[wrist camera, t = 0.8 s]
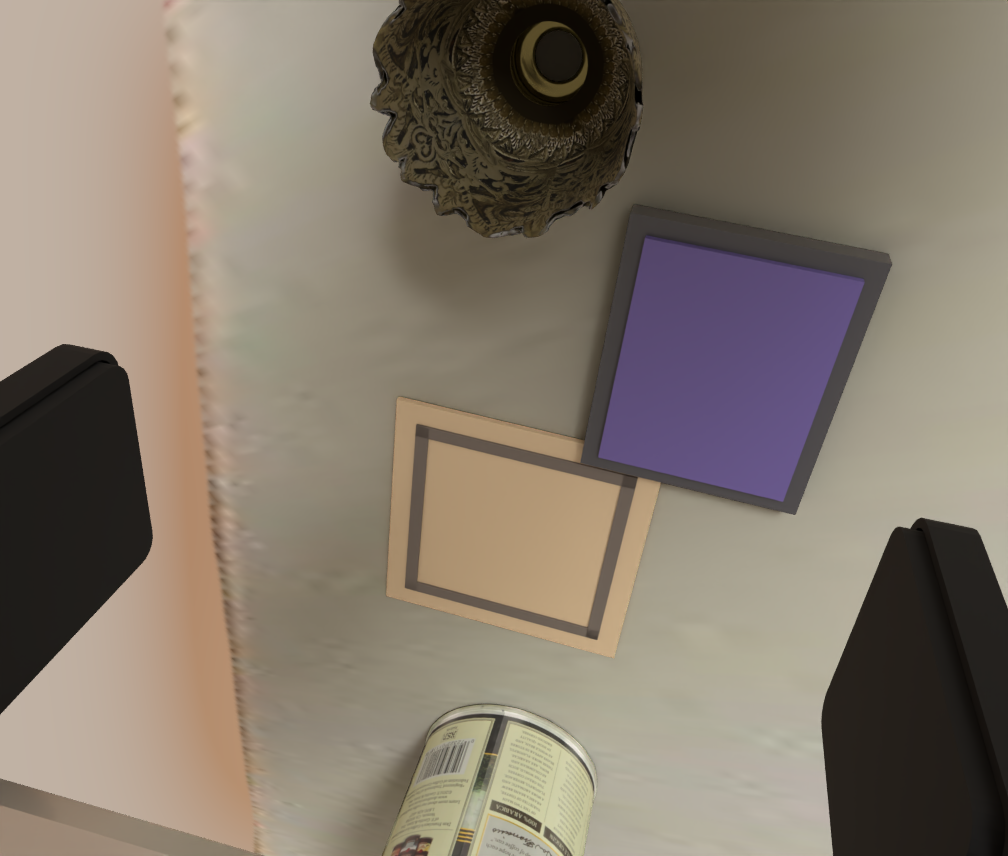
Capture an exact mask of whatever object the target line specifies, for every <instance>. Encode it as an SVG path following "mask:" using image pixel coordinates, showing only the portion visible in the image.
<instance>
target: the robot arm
mask: <svg viewBox="0 0 1008 856" xmlns="http://www.w3.org/2000/svg"><path fill="white" fill-rule="evenodd" d="M152 539H153V535H152V526H151V520H150V513H149V507H148V501H147V494H146V487H145V482H144V476H143V468H142V462H141V455H140V449H139V442H138V436H137V430H136V423H135V417H134V410H133V404H132V398H131V391H130V385H129V379H128V375H127V373H126V371H125V370H124V369H123V368H122V367H120V366H118V362H117V361H116V359H115V358H114V356H113V355H111V354H110V353H108V352H104V351H99V350H94V349H89V348H84V347H80V346H75V345H68V344H62V345H60V346H57V347H55V348H54V349H52V350H51V351H49V352H47V353H46V354H44V355H42V356H41V357H39V358H37V359H36V360H34V361H33V362H31V363H29V364H28V365H26V366H25V367H23V368H21V369H20V370H18V371H17V372H15V373H13V374H12V375H10V376H9V377H7V378H5V379H4V380H2V381H0V714H1V713H2V712H3V711H4V710H5V709H6V708H7V706H8V705H9V704H10V703H11V702H12V701H13V700H14V699H15V698H16V697H17V696H18V695H19V694H20V693H21V692H22V691H23V690H24V688H25V687H26V686H27V685H28V684H29V683H30V682H31V681H32V680H33V679H34V678H35V677H36V676H37V675H38V674H39V672H40V671H41V670H42V669H43V668H44V667H45V666H46V665H47V664H48V663H49V662H50V661H51V660H52V659H53V658H54V656H55V655H56V654H57V653H58V652H59V651H60V650H61V649H62V648H63V647H64V646H65V645H66V644H67V643H68V642H69V640H70V639H71V638H72V637H73V636H74V635H75V634H76V633H77V632H78V631H79V630H80V629H81V628H82V627H83V626H84V625H85V623H86V622H87V621H88V620H89V619H90V618H91V617H92V616H93V615H94V614H95V613H96V612H97V610H98V609H100V607H101V606H102V605H103V604H104V603H105V602H106V601H107V600H108V599H109V598H110V597H111V596H112V595H113V594H114V593H115V591H116V590H117V589H118V588H119V587H120V586H121V585H122V584H123V583H124V582H125V581H126V580H127V579H128V578H129V577H130V575H131V574H132V573H133V572H134V571H135V570H136V569H137V568H138V567H139V566H140V565H141V564H142V563H143V561H144V560H145V559H146V557H147V555H148V553H149V551H150V548H151V545H152ZM821 722H822V738H823V749H824V760H825V771H826V782H827V793H828V804H829V815H830V826H831V837H832V848H833V856H1008V608H1007V605H1006V603H1005V600H1004V597H1003V595H1002V592H1001V589H1000V587H999V584H998V581H997V579H996V576H995V573H994V571H993V568H992V565H991V563H990V560H989V557H988V555H987V552H986V549H985V547H984V544H983V541H982V539H981V536H980V534H979V533H978V531H977V530H975V529H973V528H969V527H964V526H959V525H954V524H949V523H944V522H939V521H934V520H930V519H925V518H920V519H917V520H916V521H915V523H914V524H913V525H912V527H911V529H908V528H903V527H897V528H895V529H894V531H893V532H892V534H891V536H890V538H889V541H888V543H887V546H886V548H885V550H884V553H883V555H882V558H881V560H880V563H879V565H878V568H877V570H876V573H875V575H874V578H873V580H872V582H871V585H870V587H869V590H868V592H867V595H866V597H865V600H864V602H863V605H862V607H861V609H860V612H859V614H858V617H857V619H856V622H855V624H854V627H853V629H852V632H851V634H850V636H849V639H848V641H847V644H846V646H845V649H844V651H843V654H842V656H841V659H840V661H839V664H838V666H837V668H836V671H835V673H834V676H833V678H832V681H831V683H830V686H829V688H828V691H827V693H826V696H825V700H824V704H823V710H822V721H821ZM0 856H263V855H260V854H256V853H253V852H249V851H246V850H242V849H239V848H236V847H233V846H229V845H226V844H222V843H219V842H216V841H212V840H209V839H205V838H202V837H199V836H195V835H192V834H188V833H185V832H182V831H178V830H175V829H171V828H168V827H164V826H161V825H158V824H154V823H151V822H148V821H144V820H141V819H137V818H134V817H130V816H127V815H124V814H120V813H116V812H114V811H110V810H106V809H103V808H100V807H96V806H93V805H89V804H86V803H83V802H79V801H76V800H73V799H69V798H66V797H62V796H58V795H55V794H52V793H48V792H45V791H42V790H38V789H34V788H31V787H28V786H24V785H21V784H17V783H14V782H10V781H7V780H3V779H0Z"/></svg>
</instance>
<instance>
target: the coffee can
mask: <svg viewBox="0 0 1008 856" xmlns="http://www.w3.org/2000/svg"><path fill="white" fill-rule="evenodd" d="M596 791H597V775H596V770H595V766H594V764H593V762H592V760H591V759H590V758H589V756H588V754H587V752H586V751H585V749H584V748H583V747H582V746H581V745H580V744H579V743H578V742H577V741H576V740H575V739H574V738H573V737H572V736H571V735H569V734H568V733H567V732H566V731H564V730H563V729H561V728H560V727H558V726H557V725H555V724H553V723H552V722H550V721H549V720H547V719H544V718H542V717H539V716H537V715H535V714H532V713H530V712H526V711H524V710H521V709H518V708H513V707H507V706H502V705H492V704H480V705H473V706H466V707H462V708H459V709H455V710H453V711H451V712H449V713H447V714H445V715H444V716H442V717H441V718H440V719H438V720H437V721H436V722H435V723H434V724H433V725H432V727H431V728H430V730H429V733H428V735H427V738H426V743H425V746H424V749H423V751H422V754H421V756H420V759H419V762H418V764H417V767H416V769H415V772H414V774H413V777H412V779H411V782H410V785H409V787H408V790H407V793H406V795H405V798H404V800H403V803H402V805H401V808H400V811H399V813H398V816H397V818H396V821H395V823H394V826H393V828H392V831H391V834H390V836H389V839H388V841H387V844H386V846H385V849H384V852H383V854H382V856H584V850H585V844H586V838H587V833H588V828H589V822H590V816H591V810H592V805H593V801H594V798H595V795H596Z"/></svg>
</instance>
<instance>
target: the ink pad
mask: <svg viewBox="0 0 1008 856" xmlns="http://www.w3.org/2000/svg"><path fill="white" fill-rule="evenodd" d="M891 266H892V262H891V259H890V256H889V254H887V253H882V252H877V251H872V250H866V249H861V248H856V247H851V246H846V245H841V244H836V243H831V242H825V241H820V240H815V239H810V238H805V237H800V236H795V235H790V234H785V233H779V232H774V231H769V230H764V229H759V228H754V227H749V226H744V225H739V224H733V223H728V222H723V221H718V220H713V219H708V218H703V217H698V216H692V215H687V214H682V213H677V212H672V211H667V210H662V209H657V208H652V207H646V206H641V205H636V204H634V205H633V208H632V210H631V213H630V217H629V222H628V227H627V232H626V237H625V242H624V247H623V252H622V257H621V262H620V267H619V272H618V277H617V282H616V287H615V292H614V297H613V302H612V307H611V312H610V317H609V322H608V327H607V332H606V337H605V342H604V347H603V352H602V357H601V362H600V367H599V372H598V377H597V382H596V387H595V392H594V396H593V401H592V406H591V411H590V416H589V421H588V426H587V431H586V436H585V441H584V446H583V451H582V456H581V461H580V463H582V464H586V465H591V466H595V467H599V468H603V469H607V470H611V471H615V472H619V473H624V474H628V475H632V476H636V477H640V478H644V479H648V480H653V481H657V482H661V483H665V484H669V485H673V486H677V487H681V488H686V489H690V490H694V491H698V492H702V493H706V494H710V495H715V496H719V497H723V498H727V499H731V500H735V501H739V502H743V503H748V504H752V505H756V506H760V507H764V508H768V509H772V510H777V511H781V512H785V513H789V514H793V515H795V514H796V512H797V509H798V507H799V504H800V501H801V499H802V496H803V494H804V491H805V488H806V486H807V483H808V481H809V478H810V476H811V473H812V470H813V468H814V465H815V463H816V460H817V457H818V455H819V452H820V450H821V447H822V444H823V442H824V439H825V437H826V434H827V431H828V429H829V426H830V424H831V421H832V419H833V416H834V413H835V411H836V408H837V406H838V403H839V400H840V398H841V395H842V393H843V390H844V387H845V385H846V382H847V380H848V377H849V374H850V372H851V369H852V367H853V364H854V362H855V359H856V356H857V354H858V351H859V349H860V346H861V343H862V341H863V338H864V336H865V333H866V330H867V328H868V325H869V323H870V320H871V317H872V315H873V312H874V310H875V307H876V305H877V302H878V299H879V297H880V294H881V292H882V289H883V286H884V284H885V281H886V279H887V276H888V273H889V271H890V268H891Z"/></svg>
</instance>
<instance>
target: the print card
mask: <svg viewBox="0 0 1008 856" xmlns="http://www.w3.org/2000/svg"><path fill="white" fill-rule="evenodd" d="M584 441H585V440H580V439H576V438H572V437H568V436H564V435H559V434H555V433H551V432H547V431H543V430H538V429H534V428H530V427H526V426H521V425H517V424H513V423H509V422H505V421H500V420H496V419H492V418H488V417H484V416H479V415H475V414H471V413H467V412H463V411H458V410H454V409H450V408H446V407H442V406H437V405H433V404H429V403H425V402H421V401H416V400H412V399H408V398H404V397H400V396H399V397H398V399H397V404H396V422H395V441H394V459H393V478H392V496H391V514H390V533H389V551H388V570H387V588H386V596H389V597H392V598H396V599H399V600H403V601H407V602H410V603H414V604H418V605H421V606H425V607H429V608H432V609H436V610H440V611H443V612H447V613H451V614H454V615H458V616H462V617H465V618H469V619H472V620H476V621H480V622H483V623H487V624H491V625H494V626H498V627H502V628H505V629H509V630H513V631H516V632H520V633H524V634H527V635H531V636H535V637H538V638H542V639H545V640H549V641H553V642H556V643H560V644H564V645H567V646H571V647H575V648H578V649H582V650H586V651H589V652H593V653H597V654H600V655H604V656H608V657H611V658H614V656H615V652H616V649H617V645H618V641H619V637H620V634H621V630H622V626H623V623H624V619H625V615H626V611H627V608H628V604H629V600H630V596H631V593H632V589H633V585H634V582H635V578H636V574H637V570H638V567H639V563H640V559H641V556H642V552H643V548H644V544H645V541H646V537H647V533H648V530H649V526H650V522H651V518H652V515H653V511H654V507H655V503H656V500H657V496H658V492H659V489H660V485H661V482H657V481H653V480H648V479H644V478H640V477H636V476H632V475H628V474H624V473H619V472H615V471H611V470H607V469H603V468H599V467H595V466H591V465H586V464H582V463H580V461H581V456H582V451H583V446H584Z"/></svg>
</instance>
